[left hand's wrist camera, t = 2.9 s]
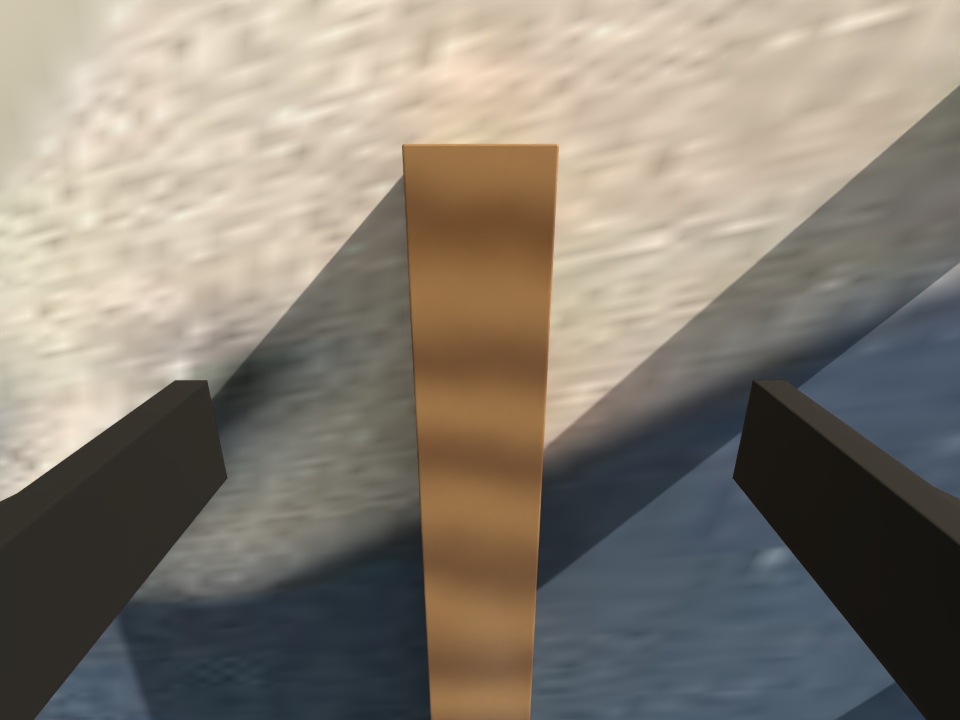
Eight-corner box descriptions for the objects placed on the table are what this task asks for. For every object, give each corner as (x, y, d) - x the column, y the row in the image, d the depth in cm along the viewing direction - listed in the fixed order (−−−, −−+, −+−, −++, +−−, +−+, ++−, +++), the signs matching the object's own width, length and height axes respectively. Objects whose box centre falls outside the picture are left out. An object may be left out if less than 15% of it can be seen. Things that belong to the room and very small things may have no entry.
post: (423, 149, 26) (401, 144, 18) (536, 149, 26) (559, 144, 18) (449, 856, 47) (443, 983, 40) (510, 856, 47) (516, 982, 40)
